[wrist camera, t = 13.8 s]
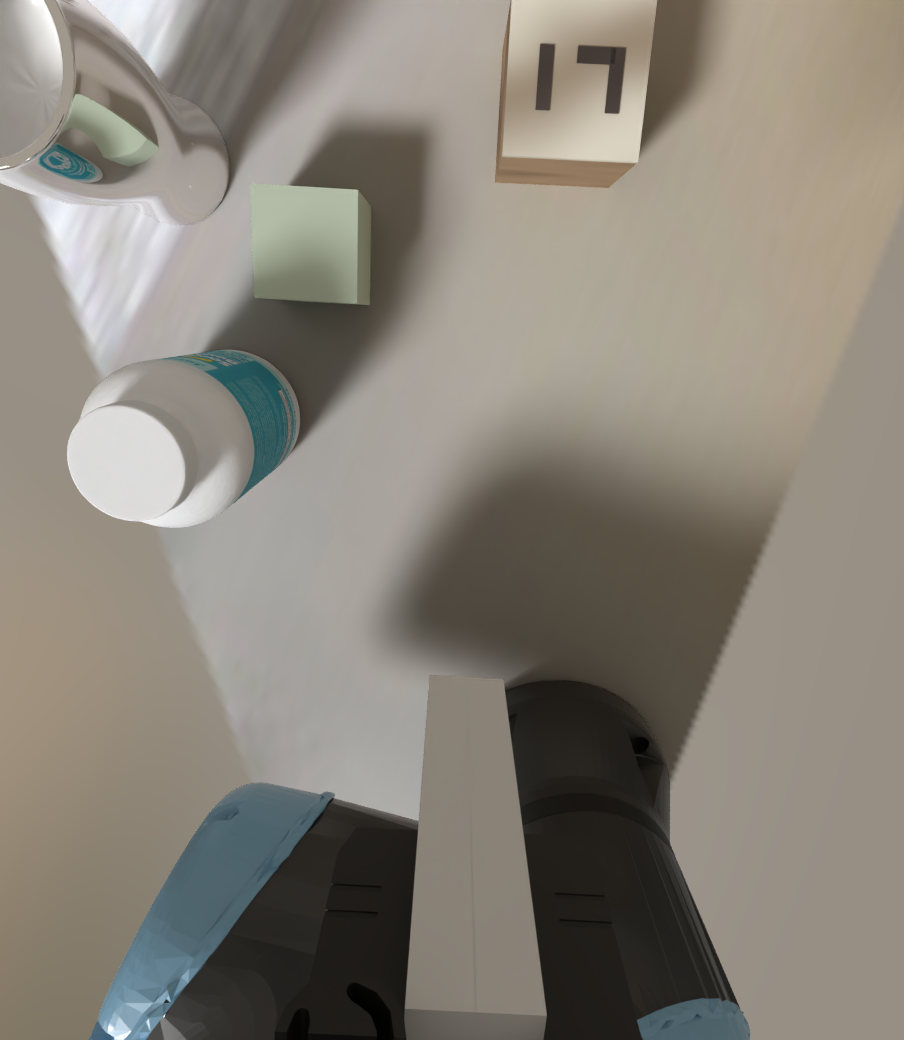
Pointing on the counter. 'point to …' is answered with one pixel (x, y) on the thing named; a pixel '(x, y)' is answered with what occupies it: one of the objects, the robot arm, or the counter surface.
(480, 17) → the counter surface
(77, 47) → the beer glass
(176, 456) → the pill bottle
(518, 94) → the walnut block
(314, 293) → the sage block
